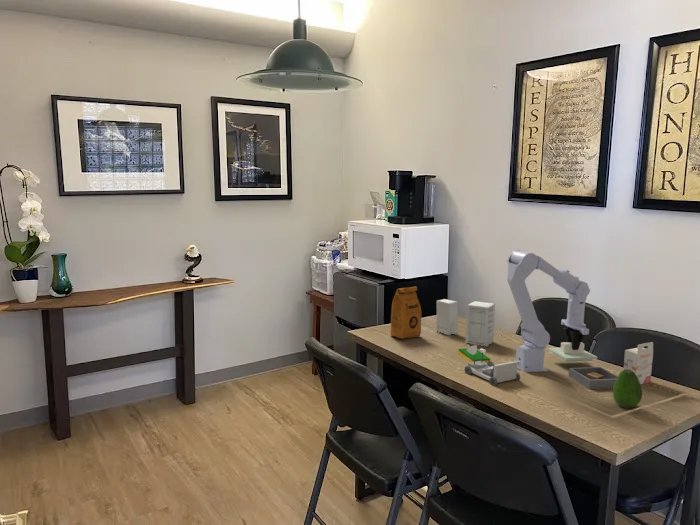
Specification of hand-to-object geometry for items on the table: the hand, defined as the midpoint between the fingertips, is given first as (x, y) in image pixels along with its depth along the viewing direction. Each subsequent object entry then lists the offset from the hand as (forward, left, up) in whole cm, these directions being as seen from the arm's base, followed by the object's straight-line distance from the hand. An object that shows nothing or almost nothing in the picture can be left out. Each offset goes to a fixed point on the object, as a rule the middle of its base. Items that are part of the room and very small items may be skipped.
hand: (572, 348), depth 200 cm
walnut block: (-2, -17, -6) cm, 18 cm away
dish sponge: (-33, +13, -8) cm, 36 cm away
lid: (0, 0, -3) cm, 3 cm away
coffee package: (-51, +45, -7) cm, 68 cm away
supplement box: (-22, +33, -7) cm, 40 cm away
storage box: (-2, -17, -7) cm, 18 cm away
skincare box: (-31, +49, -7) cm, 58 cm away
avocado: (-5, -37, -7) cm, 38 cm away
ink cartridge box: (+13, -18, -7) cm, 24 cm away
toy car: (-35, -5, -8) cm, 36 cm away
